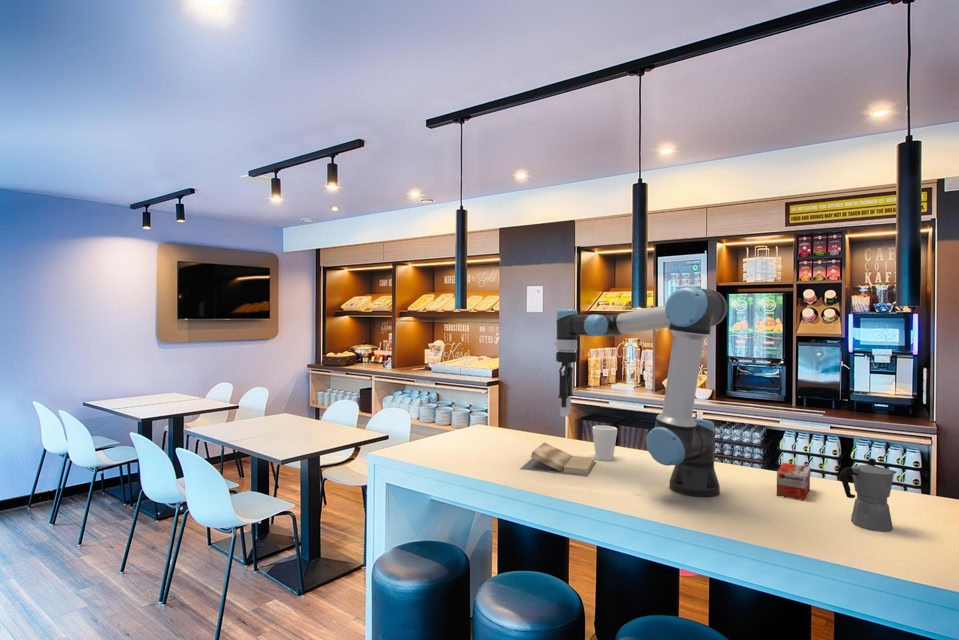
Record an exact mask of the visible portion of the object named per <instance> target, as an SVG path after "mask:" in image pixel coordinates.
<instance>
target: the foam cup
mask: <svg viewBox="0 0 959 640" xmlns="http://www.w3.org/2000/svg"><path fill="white" fill-rule="evenodd" d="M591 431H592V436H593V437H592V438H593V445H594V454H595V455H594V456H595V459H596V460H599V461H605V462H609V461H613V460H614V457H615V456H614V455H615V448H616V447H615V446H616V440H617V436H618V428H617V427H615V426H612V425H611V426H610V425H594V426H592V430H591Z"/></svg>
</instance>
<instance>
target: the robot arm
mask: <svg viewBox="0 0 959 640" xmlns="http://www.w3.org/2000/svg"><path fill="white" fill-rule="evenodd" d="M727 312H728V304H727V300H726V299H725V296H723V295H722V294H721V293H720V292H718V291H716V290H713V289H709V288H701V287H694V286H691V287H690V286H688V287H687V286H686V287H685V286H684V287H681V288H678V289H676V290H675V291H673V292H672V293H671V294H670V295H669V297H668V298H667V300H666V302H665V305H661V306H655V307H649V308H644V309H639V310H634V311H633V310H632V311H627V312H622V313H617V314H611V315H603V314H594V313H593V314H579V312H578V310H577V309H570V308H569V309H565V308H562V309H558V310H557V313H556V320H555V321H556V342H554V345H556V353H555V361H556V362H557V363H561V367H559V370H558V372H559V386H558V387H559V388H558V389H559V392H558V396H557V397H558V398H557V399H559V402H560V403H559V404H560V407H559V408H560V409H559V411H560V412H559V416H560V417H569V415H571V413H572V407H571V405H572V397H573V396H574V393H573V371H574V368H573V367H572V363H577V361H578V359H577V358H578V353H577V352H576V351H578V337H579V336H581V337H582V336H585V337H619V336H622V335H626V334H627V335H628V334H633V333H640V332H641V333H642V332H645V331H646V332H647V331H652V330H660V329H667V328H668V331H669V332H670V333H671V335H672V336H673V337H672V344H671V350H670V357H669V363H668V364H669V365H668V369H667V378H666V385H665V386H666V387H665V392H664V398H663V405H662V412H661V413H659V414H658V415H657V416H656V418H655V426H654V427H653V428H652V429H651V430H650V431H649V432H648V433H647V435H646V440H645V444H646V445H645V446H646V449H647V451H648V453H649V454H650V456H651V458H653V460H654V461H655V462H657V463H659V464H660V465H663V466H674V468H673V470H672V473H671V475H670V477H669V478H670V479H669V489H670V490H672V491H674V492H675V493H679V494H681V495H686V496H693V497H702V498H703V497H705V498H708V497H715V496H718V495H720V493H721V492H720V491H721V489H720V488H721V487H720V483H719V480H718V476H717V473H716V470H715V443H716V441H715V438H716V435H715V434H716V431H715V423H714V422H713V421H711V420H707V419H701V418H694V417H693V412H694V405H695V400H696V392H697V386H698V385H697V384H698V379H699V374H700V366H701V359H702V351H703V347H704V346H703V345H704V341H705V339H707V338H708V337H709V336H710V335H711V330H712V329H711V328H712V327H714V326H716V325H718V324H720V323H721V322H722V321H724V319H725V317H726V315H727Z"/></svg>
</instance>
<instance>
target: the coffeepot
mask: <svg viewBox="0 0 959 640" xmlns="http://www.w3.org/2000/svg"><path fill="white" fill-rule="evenodd" d="M876 461H877V459H876V458H873V457H871V458H868V464H859V465H853V466H851V467H850V466H847V467H844V468H843V469H842V470H841V471H840V473H839V477H840V480H841V484H842V487H843V489H844V493H845V496H846V498H849V499H854V498H855V497H856V498H855V501H854V504H853V509H852V514H851V518H850V522H851V523H852V524H853V525H854V526H856V527H858V528H861V529H865V530H867V531H873V532H881V533H884V532H886V533H887V532H890V531H893V530H894V526H893V522H892V520H893V519H892V515H891V510H890V505H889V504H888V498H890V497H891V491H892V487H893V486H892V485H893V481H894V475H895V474H897V471H896V470H893V469H889V468H885V467H882V466H878V465H876ZM848 475H852V481H853V485H854V491H855V492H856V494H852V493H851V487H850V485H849V479H848Z"/></svg>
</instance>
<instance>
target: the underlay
mask: <svg viewBox="0 0 959 640" xmlns="http://www.w3.org/2000/svg"><path fill="white" fill-rule="evenodd" d="M572 456H573V457H572V458H571V459H570V460H569V461H568V463H567V464H566V465H565V466H564V469H563V471H562V472H561V471H559V470H556V469H554V468H552V467H550V466H548V465H546V464H544V463H542V462H540V461H538V460H536V459H534V458H531V459H529V460H528V461H527V462H526V463H525V464H523V466H522V467H520V468H519V470H524V471H530V472H540V473H551V474H559V475H569V476H576V477H577V476H578V477H589V476H590V474H591V472H592V470H593V469H594V466H596V464H597V462H596V461H595V459H596V457H591V456H581V455H572Z"/></svg>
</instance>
